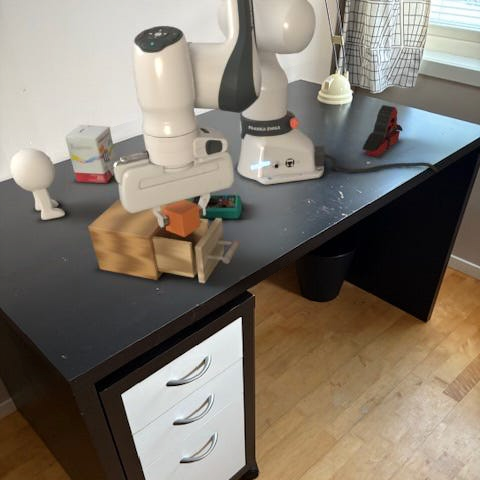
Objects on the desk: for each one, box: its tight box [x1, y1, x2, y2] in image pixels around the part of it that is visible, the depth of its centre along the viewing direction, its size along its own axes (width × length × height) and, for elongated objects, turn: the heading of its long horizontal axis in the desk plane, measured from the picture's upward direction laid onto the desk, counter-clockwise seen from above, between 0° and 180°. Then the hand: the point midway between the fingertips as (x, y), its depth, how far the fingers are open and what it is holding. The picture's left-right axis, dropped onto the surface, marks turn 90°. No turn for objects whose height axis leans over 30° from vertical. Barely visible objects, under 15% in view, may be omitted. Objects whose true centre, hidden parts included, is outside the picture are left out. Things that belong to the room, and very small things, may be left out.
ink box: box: [64, 124, 117, 184], centre depth 122 cm, size 9×9×12 cm
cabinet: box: [88, 197, 169, 281], centre depth 93 cm, size 13×12×10 cm
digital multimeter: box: [185, 193, 243, 220], centre depth 108 cm, size 7×15×3 cm, turn 88°
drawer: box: [152, 218, 241, 284], centre depth 90 cm, size 16×10×8 cm, turn 71°
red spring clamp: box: [361, 104, 404, 158], centre depth 128 cm, size 18×4×11 cm, turn 142°
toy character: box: [9, 148, 66, 221], centre depth 107 cm, size 9×9×15 cm
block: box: [163, 200, 200, 237], centre depth 86 cm, size 4×4×4 cm
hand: (182, 220), depth 87 cm, fingers closed on block, 6 cm apart
